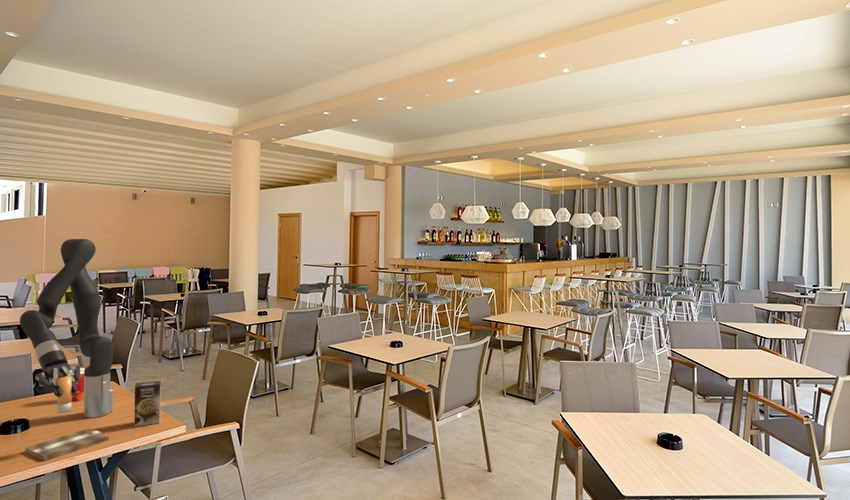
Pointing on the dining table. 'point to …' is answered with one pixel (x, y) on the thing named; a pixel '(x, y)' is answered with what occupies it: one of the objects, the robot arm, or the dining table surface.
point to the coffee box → (147, 403)
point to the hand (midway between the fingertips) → (67, 393)
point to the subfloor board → (66, 444)
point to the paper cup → (79, 387)
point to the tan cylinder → (65, 394)
